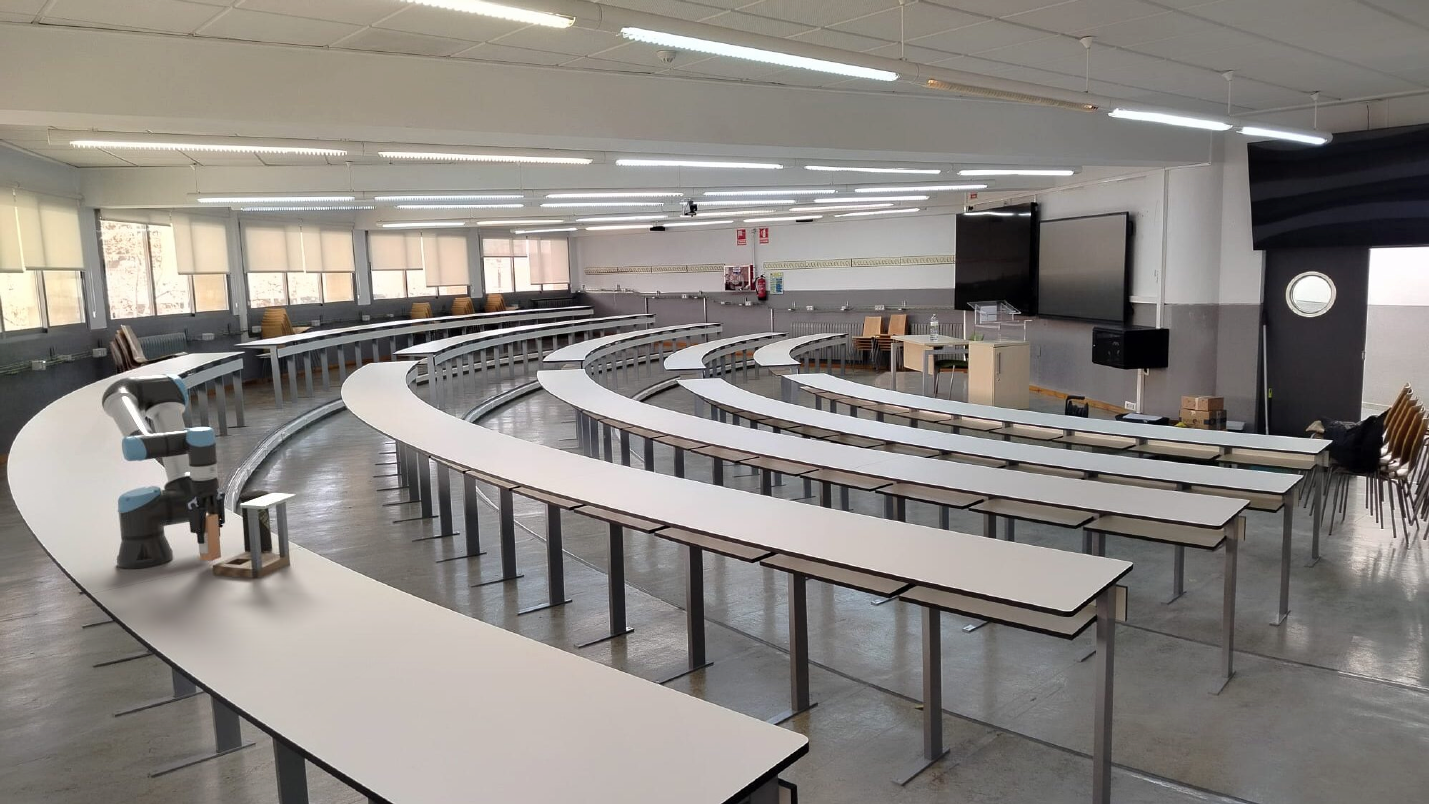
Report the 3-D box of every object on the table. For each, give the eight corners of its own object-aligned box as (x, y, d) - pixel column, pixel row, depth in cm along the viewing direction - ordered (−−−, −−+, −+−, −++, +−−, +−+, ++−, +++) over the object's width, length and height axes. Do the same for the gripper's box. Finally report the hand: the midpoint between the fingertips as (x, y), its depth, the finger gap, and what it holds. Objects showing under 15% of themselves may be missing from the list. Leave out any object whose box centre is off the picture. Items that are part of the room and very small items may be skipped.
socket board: (213, 575, 271) (212, 565, 271) (246, 560, 285) (246, 551, 284) (258, 579, 268) (257, 569, 267) (290, 564, 281) (289, 555, 281)
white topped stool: (245, 577, 269) (239, 504, 265) (277, 563, 282) (272, 492, 279) (269, 580, 267) (264, 506, 264) (301, 565, 280) (296, 494, 277)
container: (261, 555, 290) (256, 495, 287) (237, 553, 292) (232, 494, 289) (279, 547, 299) (274, 489, 296) (255, 545, 300) (251, 487, 297)
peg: (200, 560, 276) (196, 516, 273) (210, 555, 280) (206, 513, 277) (211, 561, 275) (207, 517, 273) (221, 557, 279) (217, 514, 276)
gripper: (192, 485, 264) (198, 560, 268) (235, 472, 280) (240, 543, 284) (171, 483, 266) (177, 558, 269) (215, 470, 282) (220, 540, 286)
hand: (210, 550), depth 277 cm, fingers closed on peg, 4 cm apart
